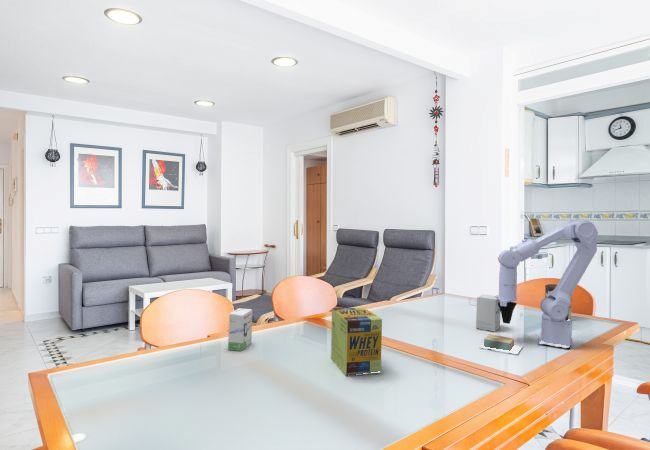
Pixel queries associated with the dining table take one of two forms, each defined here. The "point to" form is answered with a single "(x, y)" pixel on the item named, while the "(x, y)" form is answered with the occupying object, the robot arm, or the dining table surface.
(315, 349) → the dining table surface
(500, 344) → the slab
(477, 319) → the supplement box
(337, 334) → the protein box
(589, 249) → the robot arm
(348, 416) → the dining table surface
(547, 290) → the coffee can
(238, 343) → the ink box
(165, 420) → the dining table surface
